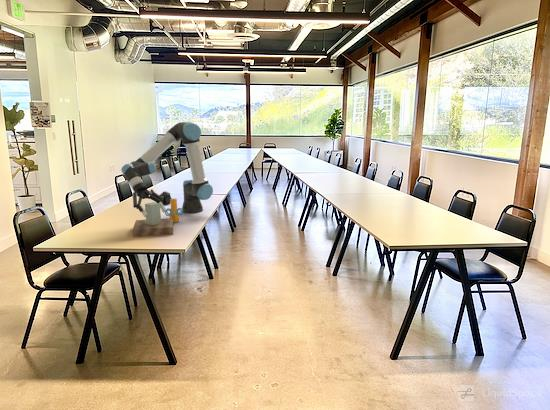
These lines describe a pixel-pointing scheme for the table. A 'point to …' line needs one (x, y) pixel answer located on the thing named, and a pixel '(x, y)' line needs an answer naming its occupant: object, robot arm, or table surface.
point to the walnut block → (153, 228)
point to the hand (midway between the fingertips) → (155, 213)
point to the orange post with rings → (174, 210)
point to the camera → (165, 197)
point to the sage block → (153, 213)
